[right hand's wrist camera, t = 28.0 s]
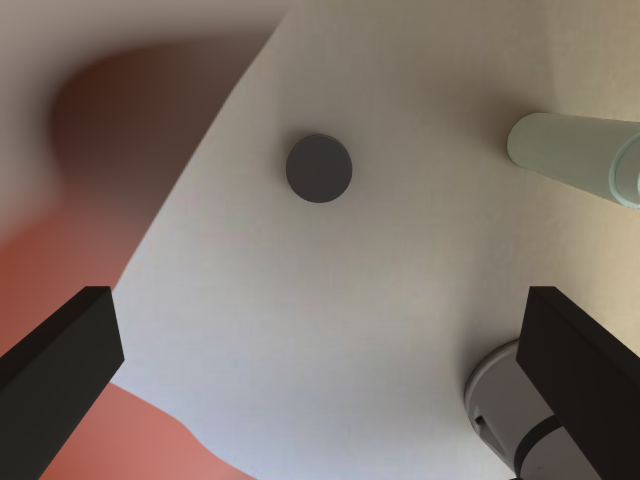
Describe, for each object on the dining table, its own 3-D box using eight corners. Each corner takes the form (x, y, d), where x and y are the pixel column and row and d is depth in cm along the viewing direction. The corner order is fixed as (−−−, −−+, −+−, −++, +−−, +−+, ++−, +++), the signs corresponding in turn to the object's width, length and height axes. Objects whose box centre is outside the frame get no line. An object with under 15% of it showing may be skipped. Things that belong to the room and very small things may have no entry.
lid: (310, 121, 36) (309, 123, 34) (363, 158, 37) (365, 161, 35) (275, 175, 38) (273, 179, 36) (327, 208, 39) (327, 215, 37)
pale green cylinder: (566, 156, 37) (728, 200, 22) (512, 175, 38) (636, 230, 23) (556, 103, 36) (724, 113, 21) (501, 124, 36) (626, 148, 21)
